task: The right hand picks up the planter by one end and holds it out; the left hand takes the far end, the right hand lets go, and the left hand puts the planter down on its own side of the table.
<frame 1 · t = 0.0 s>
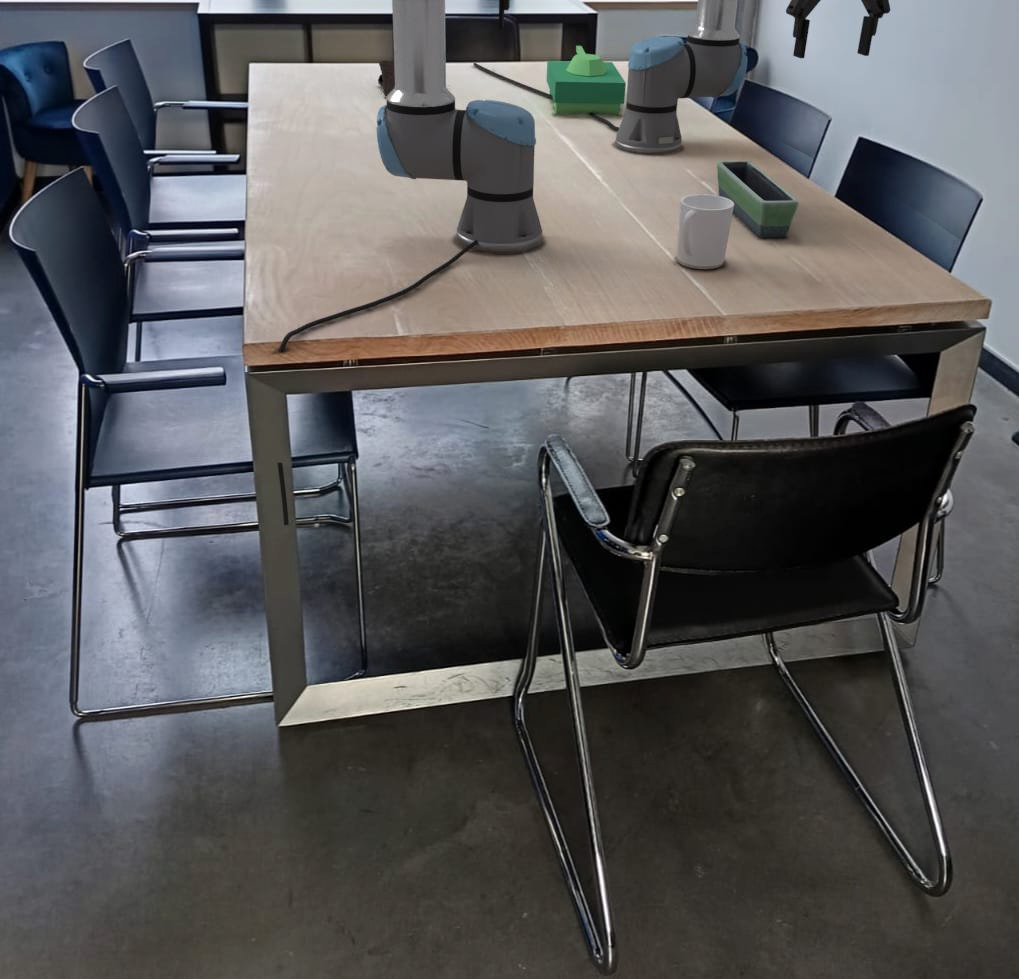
left hand: (468, 26, 224), 28 cm above the table, tool pointing down, fingers open, 13 cm apart
right hand: (831, 56, 204), 28 cm above the table, tool pointing down, fingers open, 13 cm apart
toy tank: (581, 102, 293), on the table
planter: (750, 217, 210), on the table
mug: (697, 263, 188), on the table
axe head: (403, 91, 300), on the table
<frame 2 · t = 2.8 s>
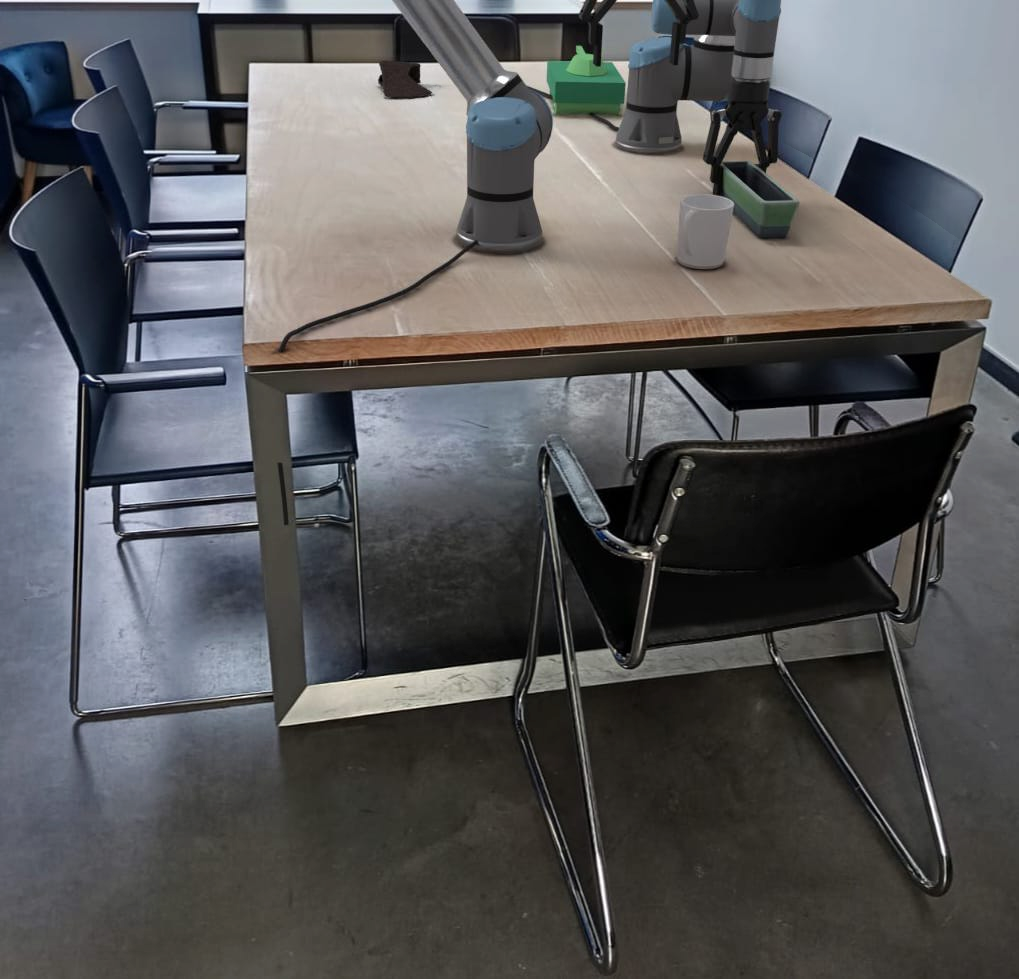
left hand: (635, 64, 189), 29 cm above the table, tool pointing down, fingers open, 13 cm apart
right hand: (735, 198, 219), 1 cm above the table, tool pointing down, fingers closed on planter, 7 cm apart
planter: (751, 217, 210), on the table, touching right hand
everything else where it was.
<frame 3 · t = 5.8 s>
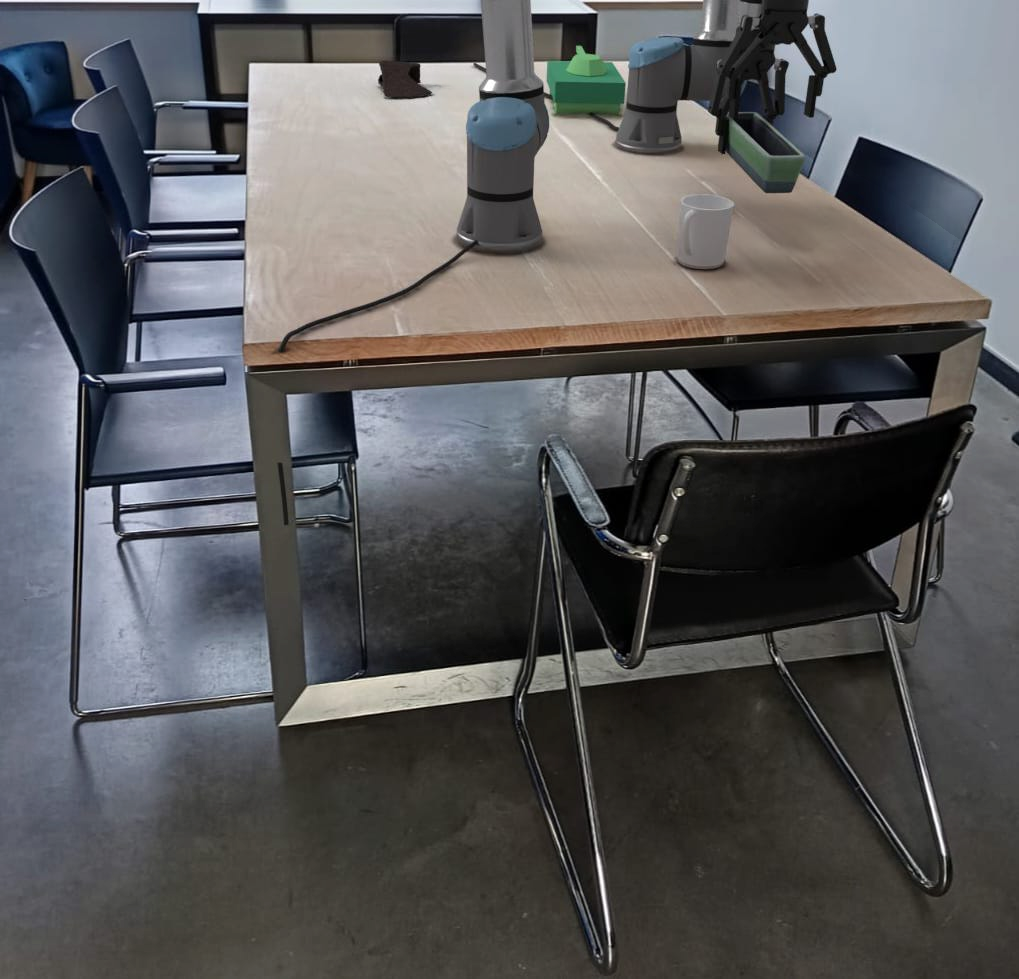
left hand: (771, 117, 190), 21 cm above the table, tool pointing down, fingers open, 13 cm apart
right hand: (740, 151, 214), 10 cm above the table, tool pointing down, fingers closed on planter, 7 cm apart
planter: (756, 171, 206), point 9 cm above the table, touching right hand
everything else where it was.
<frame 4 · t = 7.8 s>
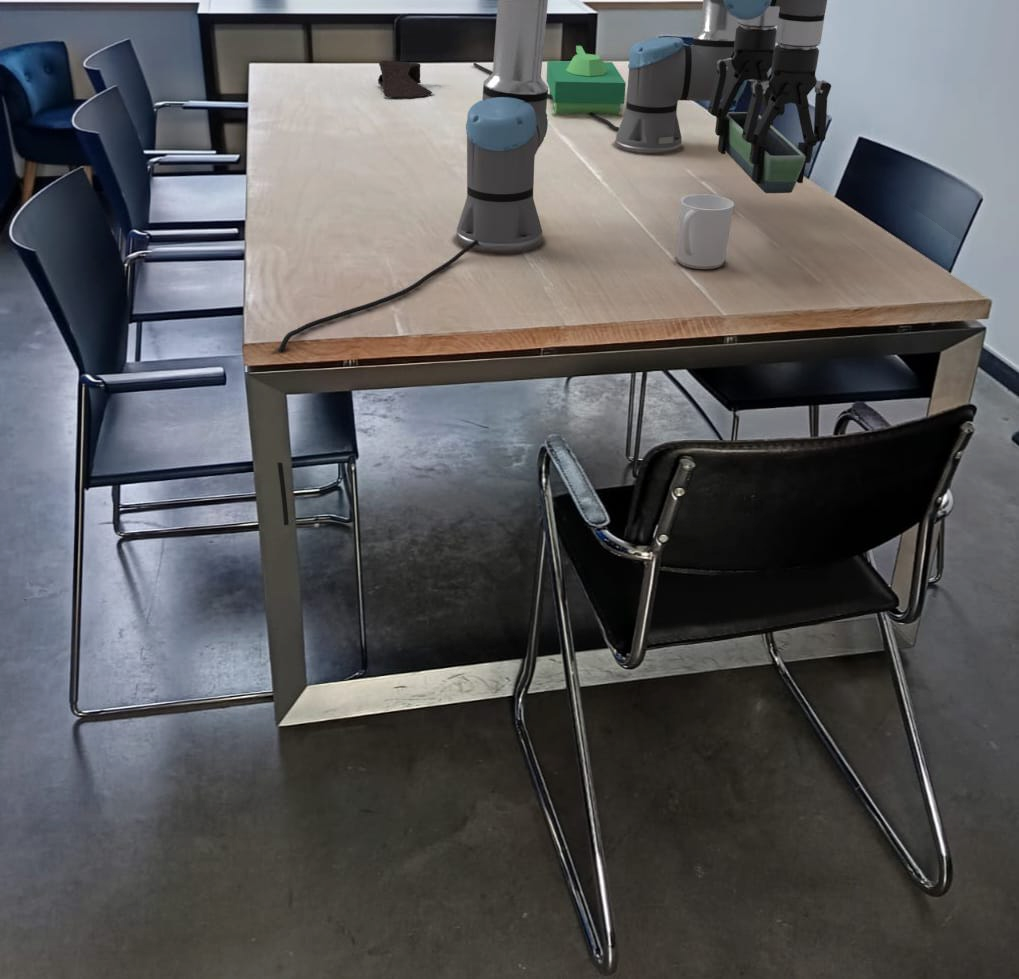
left hand: (776, 181, 197), 10 cm above the table, tool pointing down, fingers closed on planter, 7 cm apart
right hand: (740, 151, 214), 10 cm above the table, tool pointing down, fingers closed on planter, 7 cm apart
planter: (756, 171, 206), point 9 cm above the table, touching left hand, right hand
everything else where it was.
when the right hand's fingers open (10 cm above the table, at t = 8.7 s): planter stays where it is, held by the left hand.
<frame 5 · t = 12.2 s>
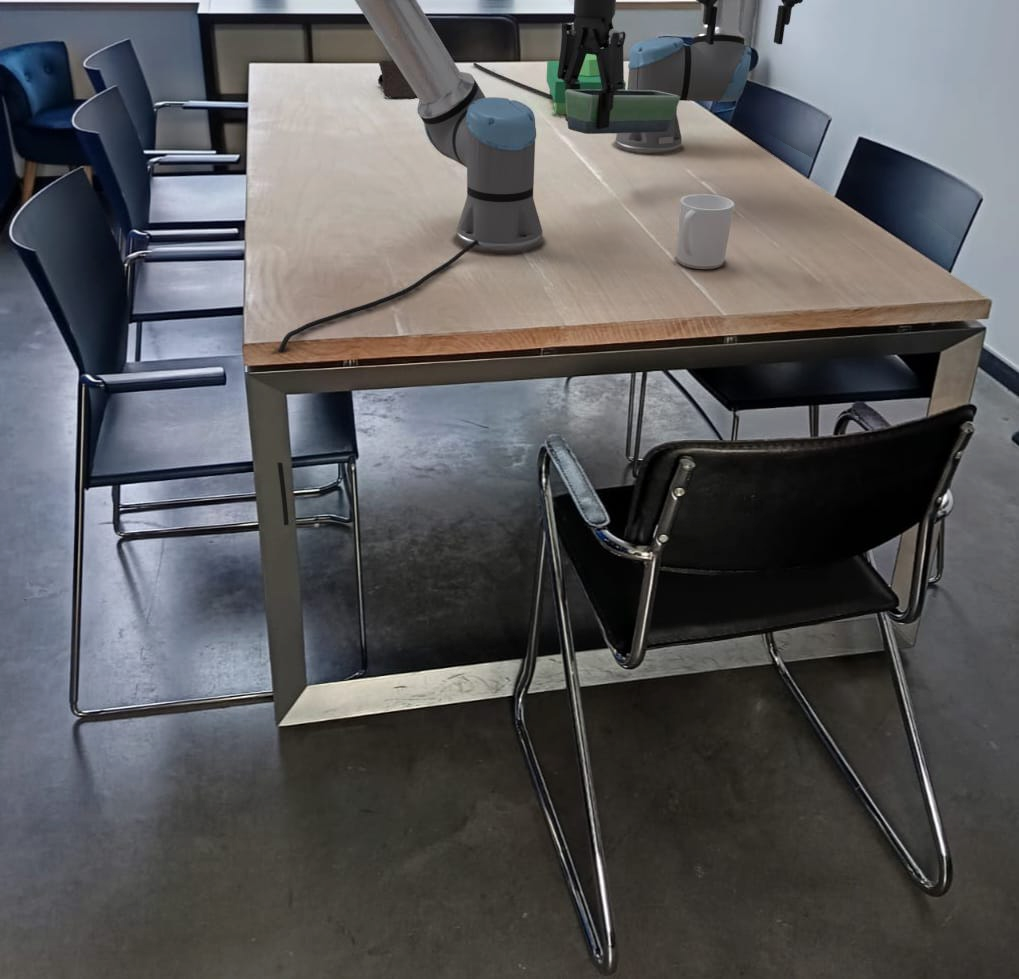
left hand: (587, 123, 208), 15 cm above the table, tool pointing down, fingers closed on planter, 7 cm apart
right hand: (743, 43, 209), 29 cm above the table, tool pointing down, fingers open, 13 cm apart
planter: (618, 131, 215), point 12 cm above the table, tilted 8°, touching left hand
everything else where it was.
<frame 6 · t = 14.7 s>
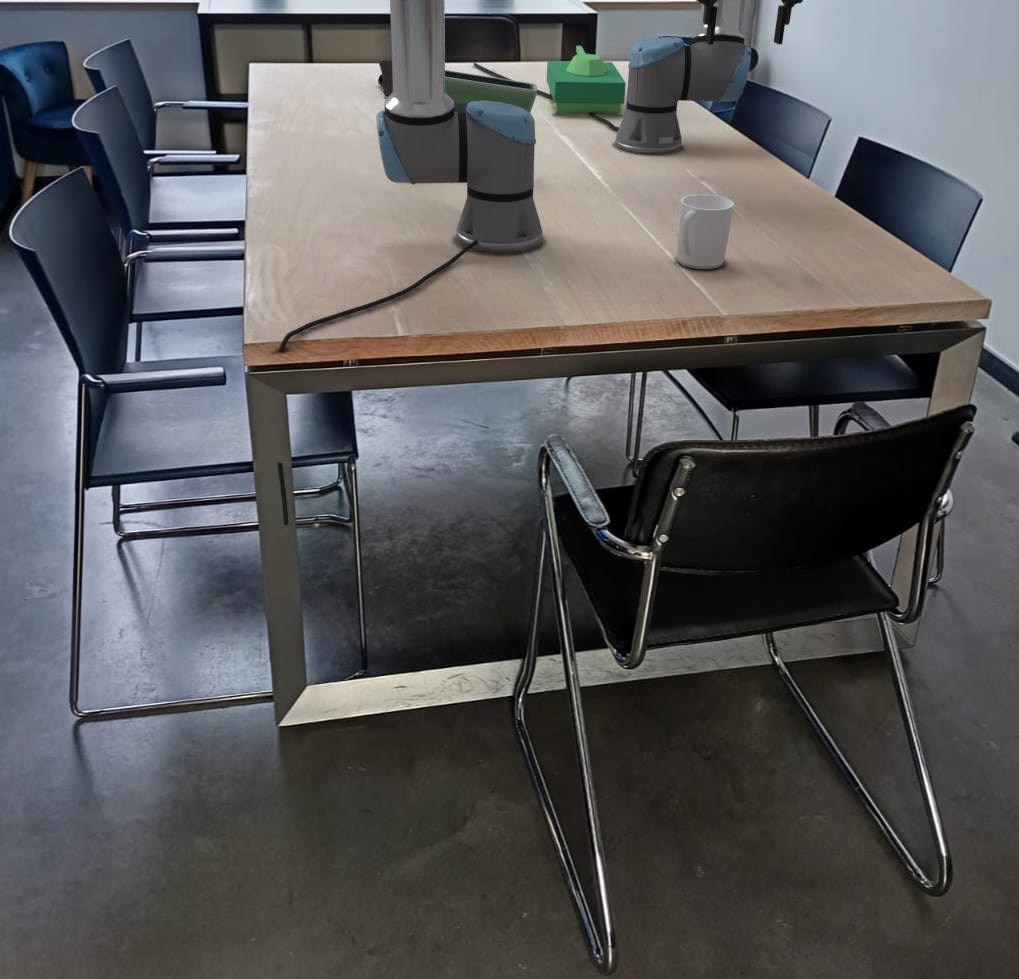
left hand: (417, 98, 222), 16 cm above the table, tool pointing down, fingers closed on planter, 7 cm apart
right hand: (743, 43, 209), 29 cm above the table, tool pointing down, fingers open, 13 cm apart
planter: (465, 113, 224), point 13 cm above the table, tilted 7°, touching left hand
everything else where it was.
when the left hand's fingers open (2 cm above the table, at t = 16.9 s): planter stays where it is, on the table.
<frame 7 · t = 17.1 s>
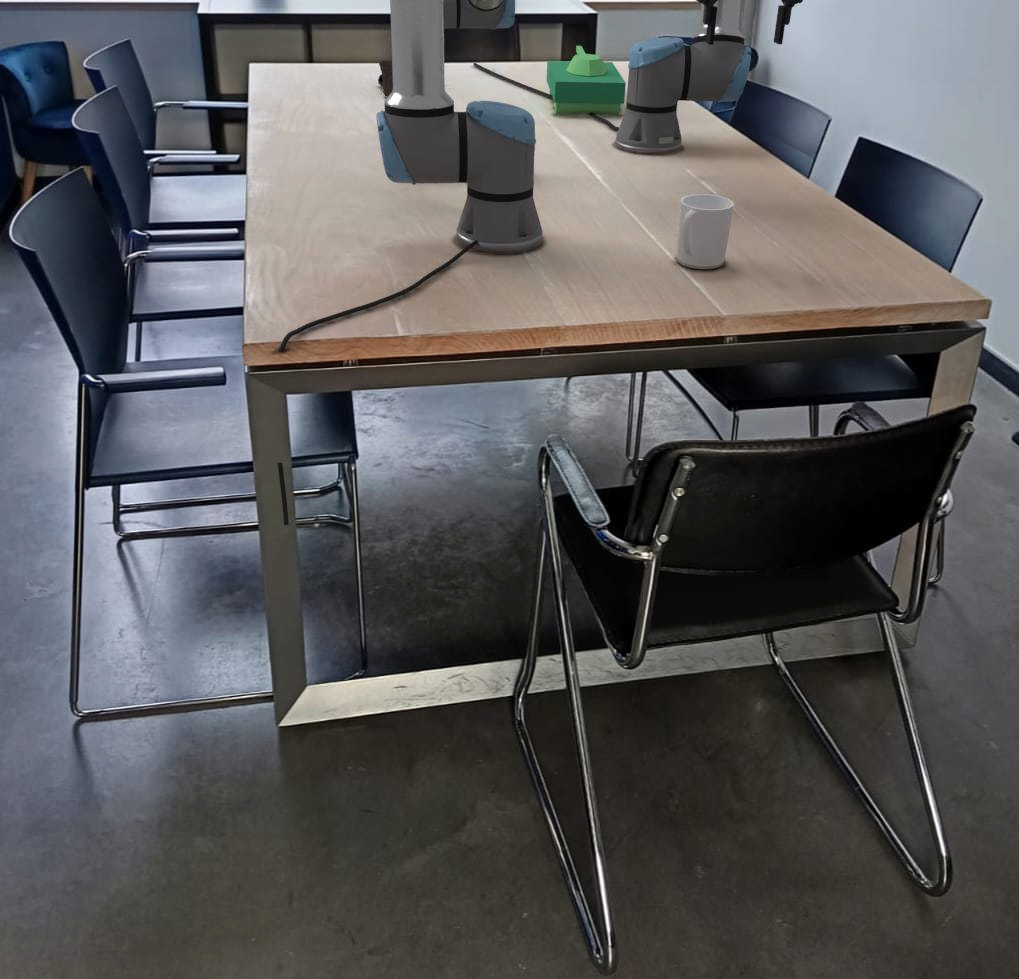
left hand: (419, 165, 229), 2 cm above the table, tool pointing down, fingers open, 9 cm apart
right hand: (743, 43, 209), 29 cm above the table, tool pointing down, fingers open, 13 cm apart
planter: (468, 176, 231), on the table
everything else where it was.
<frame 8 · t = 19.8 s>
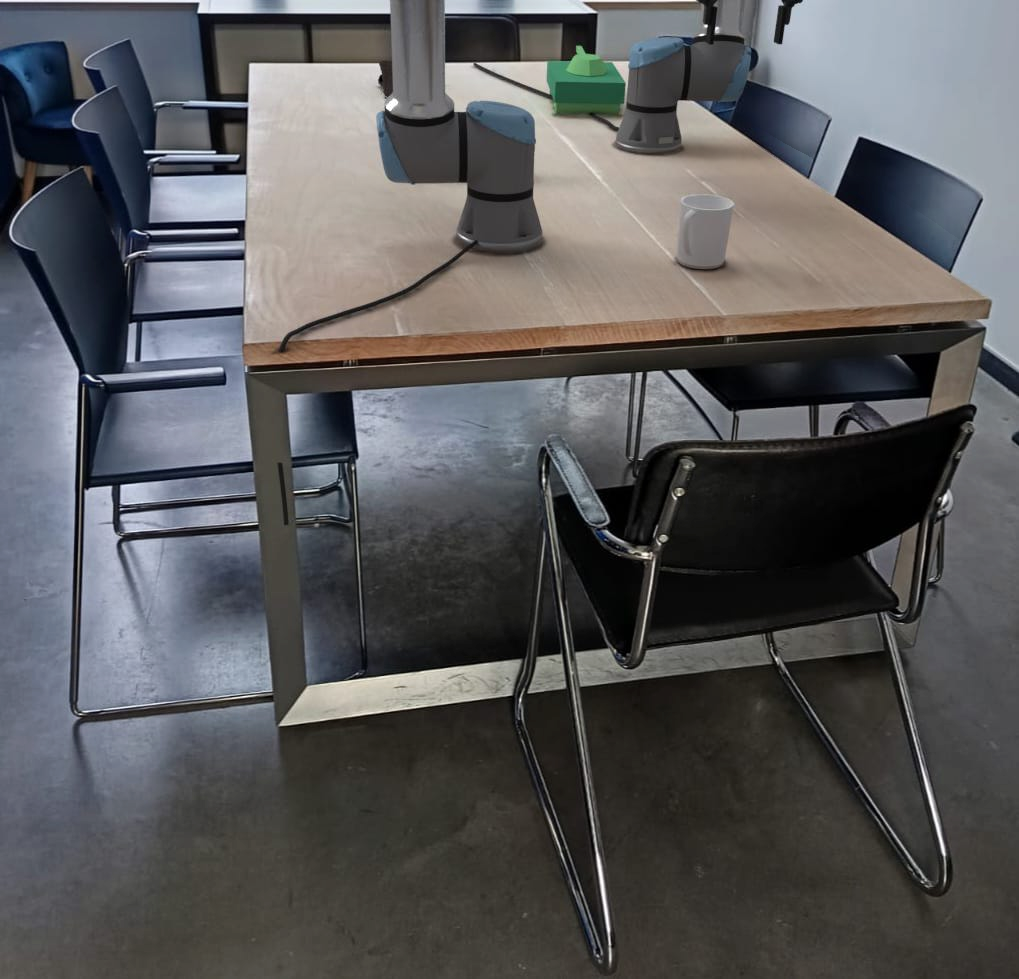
left hand: (416, 58, 218), 23 cm above the table, tool pointing down, fingers open, 13 cm apart
right hand: (743, 43, 209), 29 cm above the table, tool pointing down, fingers open, 13 cm apart
nothing on the table moved.
at the end: planter inside the target area (10.4 cm from its centre), on the table; the left hand is holding nothing; the right hand is holding nothing; planter at rest at the end (0.0 cm/s) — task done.
